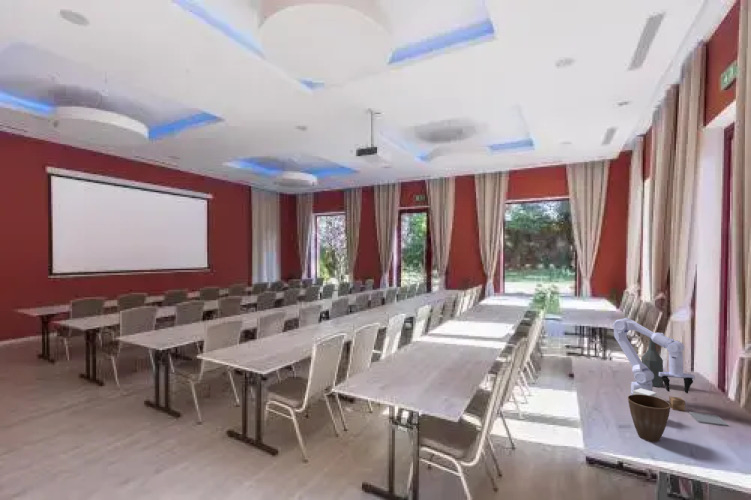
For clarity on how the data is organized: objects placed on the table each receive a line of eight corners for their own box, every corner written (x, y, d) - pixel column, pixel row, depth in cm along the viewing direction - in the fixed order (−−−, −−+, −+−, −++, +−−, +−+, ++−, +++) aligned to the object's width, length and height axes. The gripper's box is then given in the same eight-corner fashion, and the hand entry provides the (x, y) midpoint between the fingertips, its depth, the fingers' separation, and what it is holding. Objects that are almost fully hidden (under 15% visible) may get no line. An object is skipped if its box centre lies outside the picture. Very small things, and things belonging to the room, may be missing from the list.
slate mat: (698, 422, 175) (698, 421, 175) (689, 412, 185) (689, 411, 185) (728, 426, 171) (728, 425, 171) (717, 416, 181) (717, 415, 181)
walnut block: (672, 409, 189) (672, 399, 189) (669, 406, 194) (669, 396, 194) (685, 411, 187) (684, 401, 187) (681, 407, 192) (681, 397, 192)
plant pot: (680, 443, 156) (679, 405, 156) (653, 449, 152) (653, 410, 152) (645, 427, 170) (644, 392, 170) (620, 432, 166) (619, 396, 166)
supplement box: (649, 422, 176) (648, 395, 176) (632, 416, 182) (632, 390, 182) (657, 418, 179) (657, 392, 179) (640, 412, 186) (640, 387, 186)
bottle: (662, 383, 226) (661, 333, 227) (664, 388, 218) (663, 337, 218) (641, 380, 232) (640, 332, 232) (642, 385, 224) (641, 335, 224)
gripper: (661, 366, 190) (662, 392, 189) (697, 368, 184) (698, 396, 184) (657, 362, 196) (658, 388, 196) (691, 364, 191) (692, 391, 191)
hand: (677, 391), depth 190 cm, fingers open, 7 cm apart
